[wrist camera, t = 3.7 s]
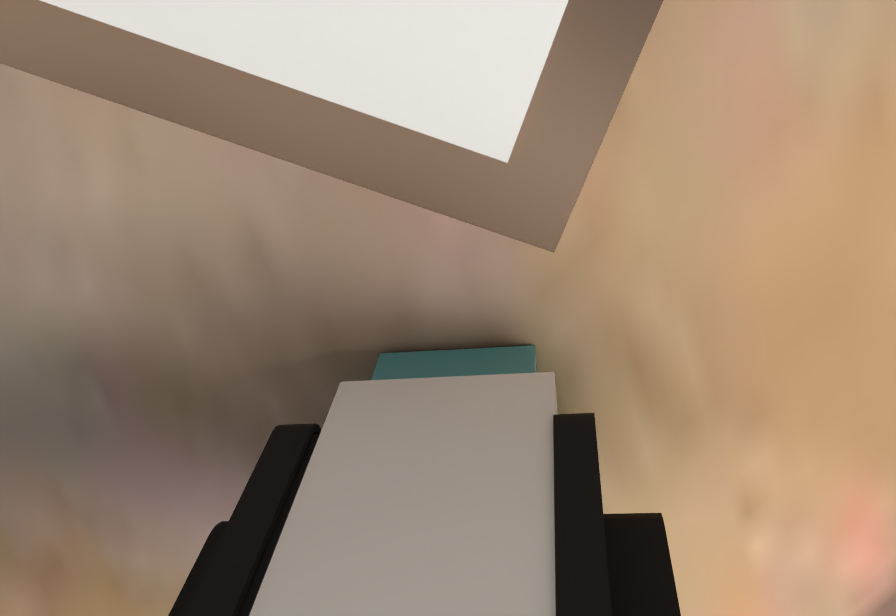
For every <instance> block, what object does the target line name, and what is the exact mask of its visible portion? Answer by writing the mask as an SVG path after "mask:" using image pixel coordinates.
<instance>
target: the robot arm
mask: <svg viewBox="0 0 896 616" xmlns="http://www.w3.org/2000/svg"><path fill="white" fill-rule="evenodd" d="M320 433H321V428H320V426H319V425H317V424H295V425H278V426H276V427H275V429H274V430H273V432H272V434H271V436H270V438H269V440H268V442H267V444H266V446H265V448H264V450H263V452H262V454H261V456H260V458H259V460H258V462H257V464H256V466H255V469H254V471H253V473H252V475H251V477H250V479H249V481H248V483H247V485H246V487H245V489H244V491H243V493H242V495H241V497H240V499H239V501H238V504H237V506H236V508H235V510H234V512H233V514H232V516H231V518H230V520H229V521H222V522H220V523H219V524H217V525H216V526H215V527H214V529H213V530H212V531H211V533H210V534H209V536H208V538H207V540H206V542H205V544H204V546H203V548H202V550H201V552H200V554H199V556H198V558H197V560H196V562H195V564H194V566H193V568H192V570H191V572H190V574H189V576H188V578H187V580H186V582H185V584H184V586H183V588H182V590H181V592H180V594H179V596H178V598H177V600H176V602H175V604H174V606H173V608H172V610H171V612H170V613H169V615H168V616H249V615H250V612H251V610H252V607H253V604H254V602H255V599H256V597H257V594H258V592H259V589H260V586H261V584H262V581H263V579H264V576H265V574H266V571H267V569H268V566H269V563H270V561H271V558H272V556H273V553H274V551H275V548H276V546H277V543H278V540H279V538H280V535H281V533H282V530H283V528H284V525H285V522H286V520H287V517H288V515H289V512H290V510H291V507H292V505H293V502H294V499H295V497H296V494H297V492H298V489H299V487H300V484H301V481H302V479H303V476H304V474H305V471H306V469H307V466H308V464H309V461H310V458H311V456H312V453H313V451H314V448H315V446H316V443H317V441H318V438H319V435H320ZM553 447H554V524H555V600H556V616H681V614H680V609H679V603H678V597H677V592H676V586H675V581H674V575H673V570H672V564H671V559H670V553H669V548H668V542H667V537H666V531H665V526H664V521H663V517H662V515H661V513H635V514H603V507H602V495H601V484H600V473H599V462H598V450H597V439H596V428H595V417H594V413H581V414H555V415H553Z"/></svg>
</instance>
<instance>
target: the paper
mask: <svg viewBox="0 0 896 616" xmlns="http://www.w3.org/2000/svg"><path fill="white" fill-rule="evenodd" d="M40 1H43V2H46V3H49V4H51V5H54V6H57V7H60V8H63V9H66V10H69V11H72V12H74V13H77V14H80V15H83V16H86V17H89V18H92V19H95V20H97V21H100V22H103V23H106V24H109V25H112V26H115V27H118V28H120V29H123V30H126V31H129V32H132V33H135V34H138V35H141V36H143V37H146V38H149V39H152V40H155V41H158V42H161V43H164V44H166V45H169V46H172V47H175V48H178V49H181V50H184V51H187V52H190V53H192V54H195V55H198V56H201V57H204V58H207V59H210V60H213V61H215V62H218V63H221V64H224V65H227V66H230V67H233V68H236V69H238V70H241V71H244V72H247V73H250V74H253V75H256V76H259V77H261V78H264V79H267V80H270V81H273V82H276V83H279V84H282V85H284V86H287V87H290V88H293V89H296V90H299V91H302V92H305V93H307V94H310V95H313V96H316V97H319V98H322V99H325V100H328V101H330V102H333V103H336V104H339V105H342V106H345V107H348V108H351V109H354V110H356V111H359V112H362V113H365V114H368V115H371V116H374V117H377V118H379V119H382V120H385V121H388V122H391V123H394V124H397V125H400V126H402V127H405V128H408V129H411V130H414V131H417V132H420V133H423V134H425V135H428V136H431V137H434V138H437V139H440V140H443V141H446V142H448V143H451V144H454V145H457V146H460V147H463V148H466V149H469V150H471V151H474V152H477V153H480V154H483V155H486V156H489V157H492V158H495V159H497V160H500V161H503V162H506V163H508V160H509V158H510V155H511V152H512V150H513V147H514V144H515V142H516V139H517V136H518V134H519V131H520V128H521V126H522V123H523V120H524V118H525V115H526V112H527V110H528V107H529V104H530V102H531V99H532V96H533V94H534V91H535V88H536V86H537V83H538V80H539V78H540V75H541V72H542V70H543V67H544V64H545V62H546V59H547V56H548V54H549V51H550V48H551V46H552V43H553V40H554V38H555V35H556V32H557V30H558V27H559V24H560V22H561V19H562V16H563V14H564V11H565V8H566V6H567V3H568V0H40Z"/></svg>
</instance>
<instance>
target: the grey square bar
mask: <svg viewBox="0 0 896 616" xmlns="http://www.w3.org/2000/svg"><path fill="white" fill-rule="evenodd" d="M555 414H558V412H557V398H556V384H555V372H539V373H537V366H536V354H535V345H532V346H512V347H493V348H473V349H454V350H434V351H415V352H395V353H380V354H379V357H378V360H377V363H376V366H375V369H374V372H373V375H372V378H371V380H366V381H345V382H340V384H339V387H338V389H337V392H336V394H335V397H334V400H333V402H332V405H331V407H330V410H329V412H328V415H327V417H326V420H325V423H324V425H323V428H322V430H321V433H320V435H319V438H318V441H317V443H316V446H315V448H314V451H313V453H312V456H311V458H310V461H309V464H308V466H307V469H306V471H305V474H304V476H303V479H302V481H301V484H300V487H299V489H298V492H297V494H296V497H295V499H294V502H293V505H292V507H291V510H290V512H289V515H288V517H287V520H286V522H285V525H284V528H283V530H282V533H281V535H280V538H279V540H278V543H277V546H276V548H275V551H274V553H273V556H272V558H271V561H270V563H269V566H268V569H267V571H266V574H265V576H264V579H263V581H262V584H261V586H260V589H259V592H258V594H257V597H256V599H255V602H254V604H253V607H252V610H251V612H250V615H249V616H556V600H555V524H554V447H553V415H555Z"/></svg>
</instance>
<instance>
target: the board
mask: <svg viewBox="0 0 896 616" xmlns="http://www.w3.org/2000/svg"><path fill="white" fill-rule="evenodd" d="M662 2H663V0H568V3H567V6H566V8H565V11H564V14H563V16H562V19H561V22H560V24H559V27H558V30H557V32H556V35H555V38H554V40H553V43H552V46H551V48H550V51H549V54H548V56H547V59H546V62H545V64H544V67H543V70H542V72H541V75H540V78H539V80H538V83H537V86H536V88H535V91H534V94H533V96H532V99H531V102H530V104H529V107H528V110H527V112H526V115H525V118H524V120H523V123H522V126H521V128H520V131H519V134H518V136H517V139H516V142H515V144H514V147H513V150H512V152H511V155H510V158H509V160H508V163H506V162H503V161H500V160H497V159H495V158H492V157H489V156H486V155H483V154H480V153H477V152H474V151H471V150H469V149H466V148H463V147H460V146H457V145H454V144H451V143H448V142H446V141H443V140H440V139H437V138H434V137H431V136H428V135H425V134H423V133H420V132H417V131H414V130H411V129H408V128H405V127H402V126H400V125H397V124H394V123H391V122H388V121H385V120H382V119H379V118H377V117H374V116H371V115H368V114H365V113H362V112H359V111H356V110H354V109H351V108H348V107H345V106H342V105H339V104H336V103H333V102H330V101H328V100H325V99H322V98H319V97H316V96H313V95H310V94H307V93H305V92H302V91H299V90H296V89H293V88H290V87H287V86H284V85H282V84H279V83H276V82H273V81H270V80H267V79H264V78H261V77H259V76H256V75H253V74H250V73H247V72H244V71H241V70H238V69H236V68H233V67H230V66H227V65H224V64H221V63H218V62H215V61H213V60H210V59H207V58H204V57H201V56H198V55H195V54H192V53H190V52H187V51H184V50H181V49H178V48H175V47H172V46H169V45H166V44H164V43H161V42H158V41H155V40H152V39H149V38H146V37H143V36H141V35H138V34H135V33H132V32H129V31H126V30H123V29H120V28H118V27H115V26H112V25H109V24H106V23H103V22H100V21H97V20H95V19H92V18H89V17H86V16H83V15H80V14H77V13H74V12H72V11H69V10H66V9H63V8H60V7H57V6H54V5H51V4H49V3H46V2H43V1H40V0H0V63H1V64H4V65H7V66H10V67H13V68H16V69H19V70H22V71H24V72H27V73H30V74H33V75H36V76H39V77H42V78H45V79H48V80H51V81H54V82H57V83H60V84H62V85H65V86H68V87H71V88H74V89H77V90H80V91H83V92H86V93H89V94H92V95H95V96H98V97H101V98H103V99H106V100H109V101H112V102H115V103H118V104H121V105H124V106H127V107H130V108H133V109H136V110H139V111H141V112H144V113H147V114H150V115H153V116H156V117H159V118H162V119H165V120H168V121H171V122H174V123H177V124H180V125H182V126H185V127H188V128H191V129H194V130H197V131H200V132H203V133H206V134H209V135H212V136H215V137H218V138H220V139H223V140H226V141H229V142H232V143H235V144H238V145H241V146H244V147H247V148H250V149H253V150H256V151H259V152H261V153H264V154H267V155H270V156H273V157H276V158H279V159H282V160H285V161H288V162H291V163H294V164H297V165H299V166H302V167H305V168H308V169H311V170H314V171H317V172H320V173H323V174H326V175H329V176H332V177H335V178H338V179H340V180H343V181H346V182H349V183H352V184H355V185H358V186H361V187H364V188H367V189H370V190H373V191H376V192H378V193H381V194H384V195H387V196H390V197H393V198H396V199H399V200H402V201H405V202H408V203H411V204H414V205H417V206H419V207H422V208H425V209H428V210H431V211H434V212H437V213H440V214H443V215H446V216H449V217H452V218H455V219H457V220H460V221H463V222H466V223H469V224H472V225H475V226H478V227H481V228H484V229H487V230H490V231H493V232H496V233H498V234H501V235H504V236H507V237H510V238H513V239H516V240H519V241H522V242H525V243H528V244H531V245H534V246H536V247H539V248H542V249H545V250H548V251H551V252H555V249H556V247H557V245H558V242H559V240H560V238H561V235H562V233H563V231H564V228H565V226H566V224H567V221H568V219H569V217H570V215H571V212H572V210H573V208H574V205H575V203H576V201H577V198H578V196H579V194H580V191H581V189H582V187H583V184H584V182H585V180H586V178H587V175H588V173H589V171H590V168H591V166H592V164H593V161H594V159H595V157H596V154H597V152H598V150H599V147H600V145H601V143H602V141H603V138H604V136H605V134H606V131H607V129H608V127H609V124H610V122H611V120H612V117H613V115H614V113H615V111H616V108H617V106H618V104H619V101H620V99H621V97H622V94H623V92H624V90H625V87H626V85H627V83H628V80H629V78H630V76H631V74H632V71H633V69H634V67H635V64H636V62H637V60H638V57H639V55H640V53H641V50H642V48H643V46H644V43H645V41H646V39H647V37H648V34H649V32H650V30H651V27H652V25H653V23H654V20H655V18H656V16H657V13H658V11H659V9H660V6H661V4H662Z"/></svg>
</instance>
